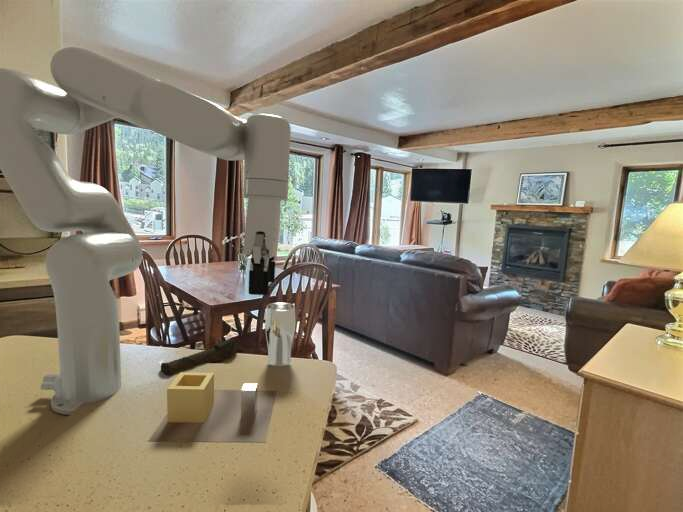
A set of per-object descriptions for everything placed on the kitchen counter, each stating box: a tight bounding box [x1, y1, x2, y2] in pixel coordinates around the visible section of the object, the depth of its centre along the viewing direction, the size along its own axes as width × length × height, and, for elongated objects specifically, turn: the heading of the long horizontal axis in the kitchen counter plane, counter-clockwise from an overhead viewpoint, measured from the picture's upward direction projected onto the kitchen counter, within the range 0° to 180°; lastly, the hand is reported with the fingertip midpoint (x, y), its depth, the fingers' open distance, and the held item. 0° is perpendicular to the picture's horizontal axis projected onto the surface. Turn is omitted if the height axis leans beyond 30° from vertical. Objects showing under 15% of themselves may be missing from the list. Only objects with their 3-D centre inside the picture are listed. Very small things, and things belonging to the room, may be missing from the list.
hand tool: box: [160, 339, 238, 377], centre depth 86 cm, size 19×4×5 cm, turn 141°
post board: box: [147, 383, 278, 443], centre depth 65 cm, size 18×16×6 cm
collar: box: [166, 371, 215, 423], centre depth 64 cm, size 6×6×6 cm
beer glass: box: [264, 302, 296, 367], centre depth 87 cm, size 7×7×15 cm
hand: (262, 287), depth 66 cm, fingers open, 9 cm apart
